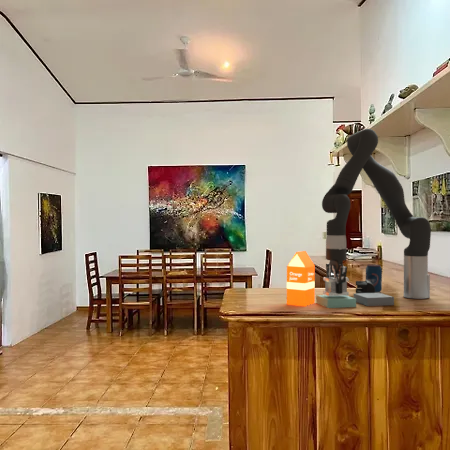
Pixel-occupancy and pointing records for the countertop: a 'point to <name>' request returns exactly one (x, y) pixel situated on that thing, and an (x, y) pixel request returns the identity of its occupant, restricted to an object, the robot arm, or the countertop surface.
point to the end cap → (365, 287)
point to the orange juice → (300, 280)
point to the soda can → (374, 276)
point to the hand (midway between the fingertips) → (336, 292)
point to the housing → (334, 287)
